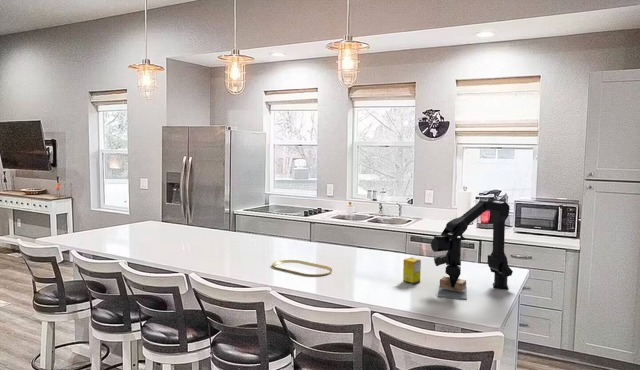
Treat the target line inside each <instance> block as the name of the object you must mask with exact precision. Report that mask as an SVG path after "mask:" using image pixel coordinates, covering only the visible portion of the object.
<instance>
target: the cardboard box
mask: <svg viewBox="0 0 640 370" xmlns="http://www.w3.org/2000/svg"><path fill="white" fill-rule="evenodd" d="M439 285H440V288H446V289H451V290H457V291H463V290H464V289H465V288H466V287H467V279H461V278H458V280H457V282H456V284H455V286H454V287H451V282H450V277H449V276H442V277H441V278H440V279H439Z"/></svg>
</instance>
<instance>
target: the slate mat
mask: <svg viewBox="0 0 640 370" xmlns="http://www.w3.org/2000/svg"><path fill="white" fill-rule="evenodd" d="M467 295H468V292H467V286H466V288H465V289H464V290H463V291H457V290H451V289H446V288H440V284H439V285H438V292H437V298H445V299H453V300H454V299H455V300H463V301H464V300H466V301H467V299H468V296H467Z"/></svg>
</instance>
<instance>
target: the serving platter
mask: <svg viewBox="0 0 640 370" xmlns="http://www.w3.org/2000/svg"><path fill="white" fill-rule="evenodd" d="M286 263H288V264H289V263H293V264H301V265H305V266H310V267H314V268H320V269H324V270H326V269H327V271H328V270H329V271H330V272H329V271H328V272H325V273H318V274H317V273H314V274H313V273H312V274H311V273H305V272H300V271H295V270H292V269H286V268H282V267H278V266H277V265H281V264H286ZM272 267H273V268H275V269H276V270H279V271H284V272H289V273H292V272H293V274H296V273H297V275H301V276H305V275H306V277H323V275H324V276H326V275H327V274H328V275H330V274H331V273H332V272H333V268H332V267H330V266H328V265H321V264H318V263H314V262H309V261H303V260H298V259H283V260H277V261H274V262H273V263H272Z"/></svg>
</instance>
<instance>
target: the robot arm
mask: <svg viewBox="0 0 640 370" xmlns="http://www.w3.org/2000/svg"><path fill="white" fill-rule="evenodd" d="M487 210H489V213H490V217H491V218H492V221H493V222H492V224H493V225H492V227H493V228H492V252H491V254H487V262H486V264H487V266H488V267H489V269H490V272H491V273H493V274H494V278H493V282H492V287H493V288H494V289H503V290H509V285H508V277H511V276H512V275H513V270H512V268H511V267H510V266H509V264H508V263H509V262H508V257H507V255H506V253H505V232H506V231H505V230H506V229H505V228H506V221H507V219H508V218H509V216H510V215H509V214H510V210H511V209H510V205H509V204H508V202H504V201H498V200H494V201H490V200H486V199H481V200H479V201H478V202H477V203H476V204H475V205H473V206H472V207H471V208H470V209H469V210H467V211H466V212H465V213H463V215H461V216H459V217H456V218H453V219H451V220H450V221H448V222H447V223H446V224H445V228H444V229H443V231H442V232H441V234H440V235H434V236H433V239H432V240H431V242H430V247H431V250H432V251H433V252H434V253H437V252H446V253H445V254H442V255H438V256H435V257H433V262H434V265H435V267H439V266H441V265H444V264H445V265H446V266H445V272H444V273H445V274H446V275H447V276H448V277H450V282H451V287H454V286H455V284H456V282H457V280H458V279H460V276H461V271H462V269H461V266H462V259H461V256H462V241H466V238H465V236H464V235H463V234H464V233H465V232H466V231H467V230H468V227H469V225H470V224H471V223H473V222H474V221H475V220H476V219H478V218H479V217H480V216H482V215H483V213H485V212H486V211H487Z"/></svg>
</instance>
